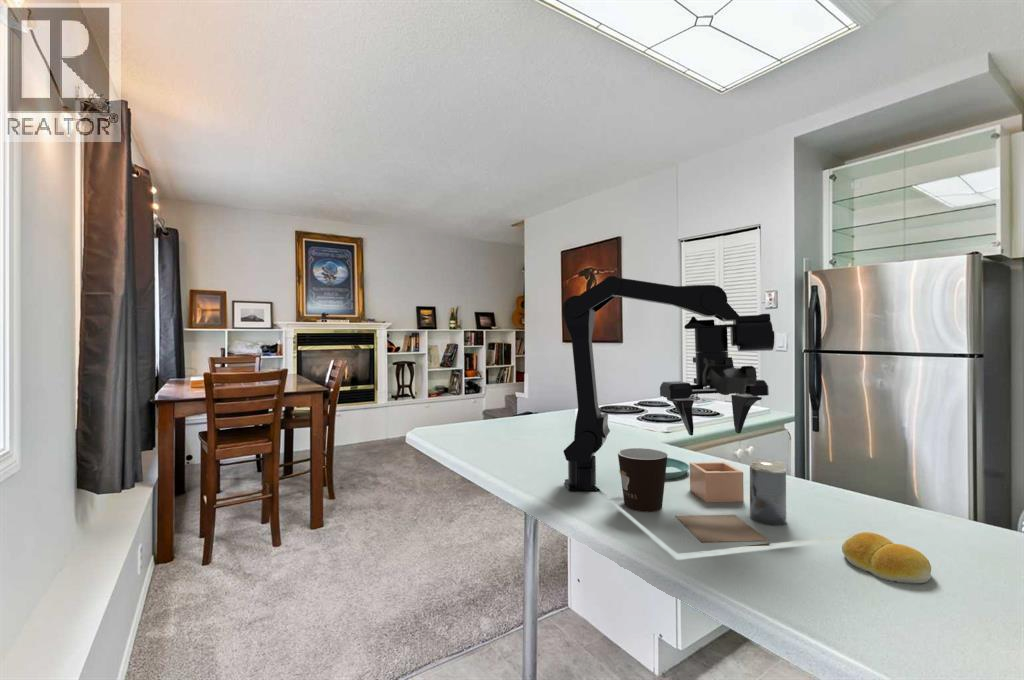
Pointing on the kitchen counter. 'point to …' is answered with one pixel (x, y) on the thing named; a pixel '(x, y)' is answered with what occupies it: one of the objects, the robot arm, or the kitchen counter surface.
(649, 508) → the brown coffee cup
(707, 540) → the coaster
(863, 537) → the bread roll
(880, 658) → the kitchen counter surface
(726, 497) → the planter
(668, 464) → the saucer
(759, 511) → the tea tin
